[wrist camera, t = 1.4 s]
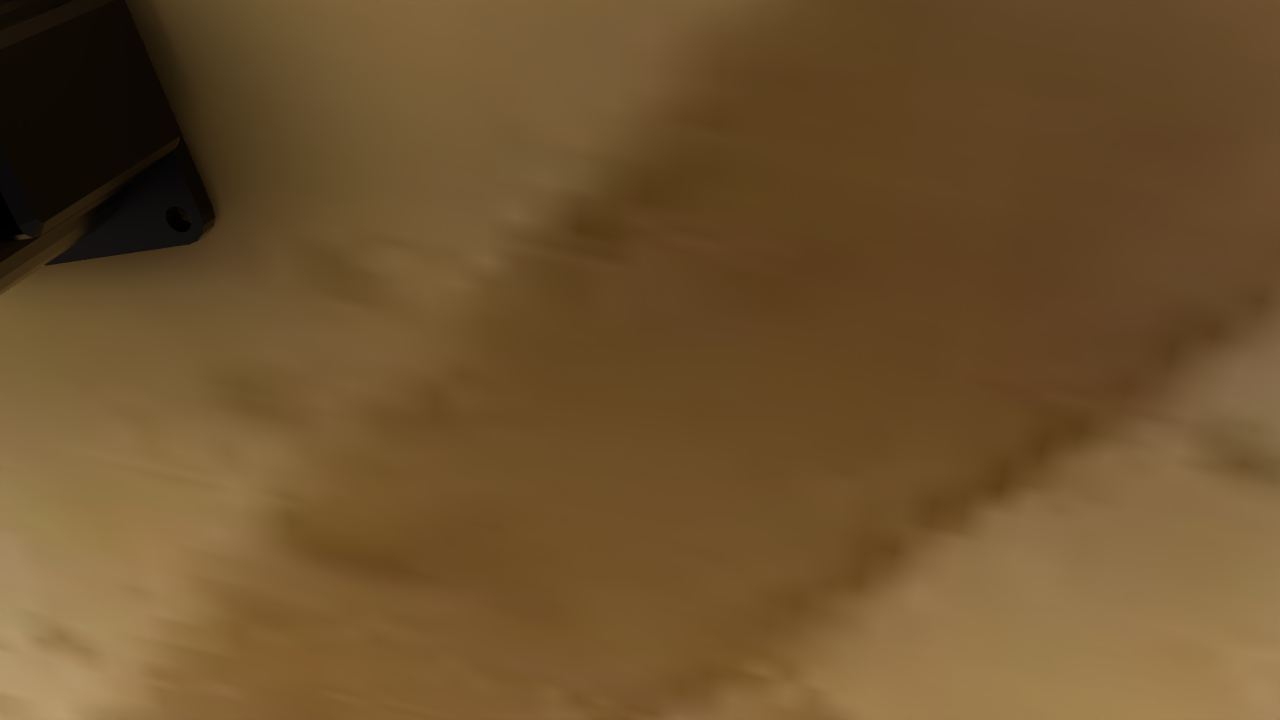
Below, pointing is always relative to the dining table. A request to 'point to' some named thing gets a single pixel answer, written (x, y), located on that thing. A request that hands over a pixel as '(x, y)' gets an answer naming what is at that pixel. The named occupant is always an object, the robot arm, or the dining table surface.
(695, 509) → the dining table surface
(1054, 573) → the dining table surface
